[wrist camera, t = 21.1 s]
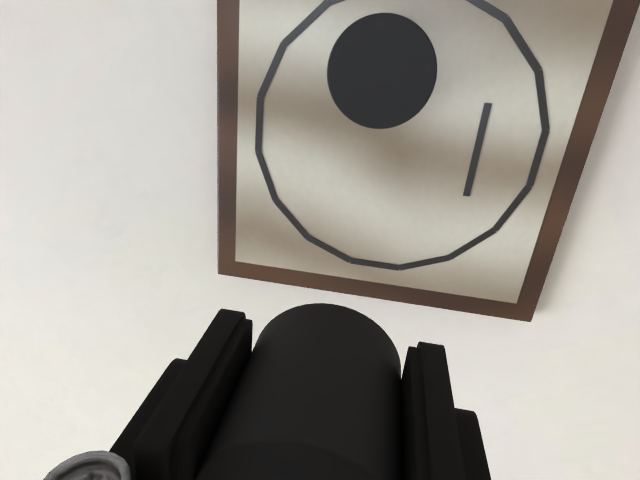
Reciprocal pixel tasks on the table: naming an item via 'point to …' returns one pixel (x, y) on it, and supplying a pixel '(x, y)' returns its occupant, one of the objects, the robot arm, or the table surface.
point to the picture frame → (411, 149)
